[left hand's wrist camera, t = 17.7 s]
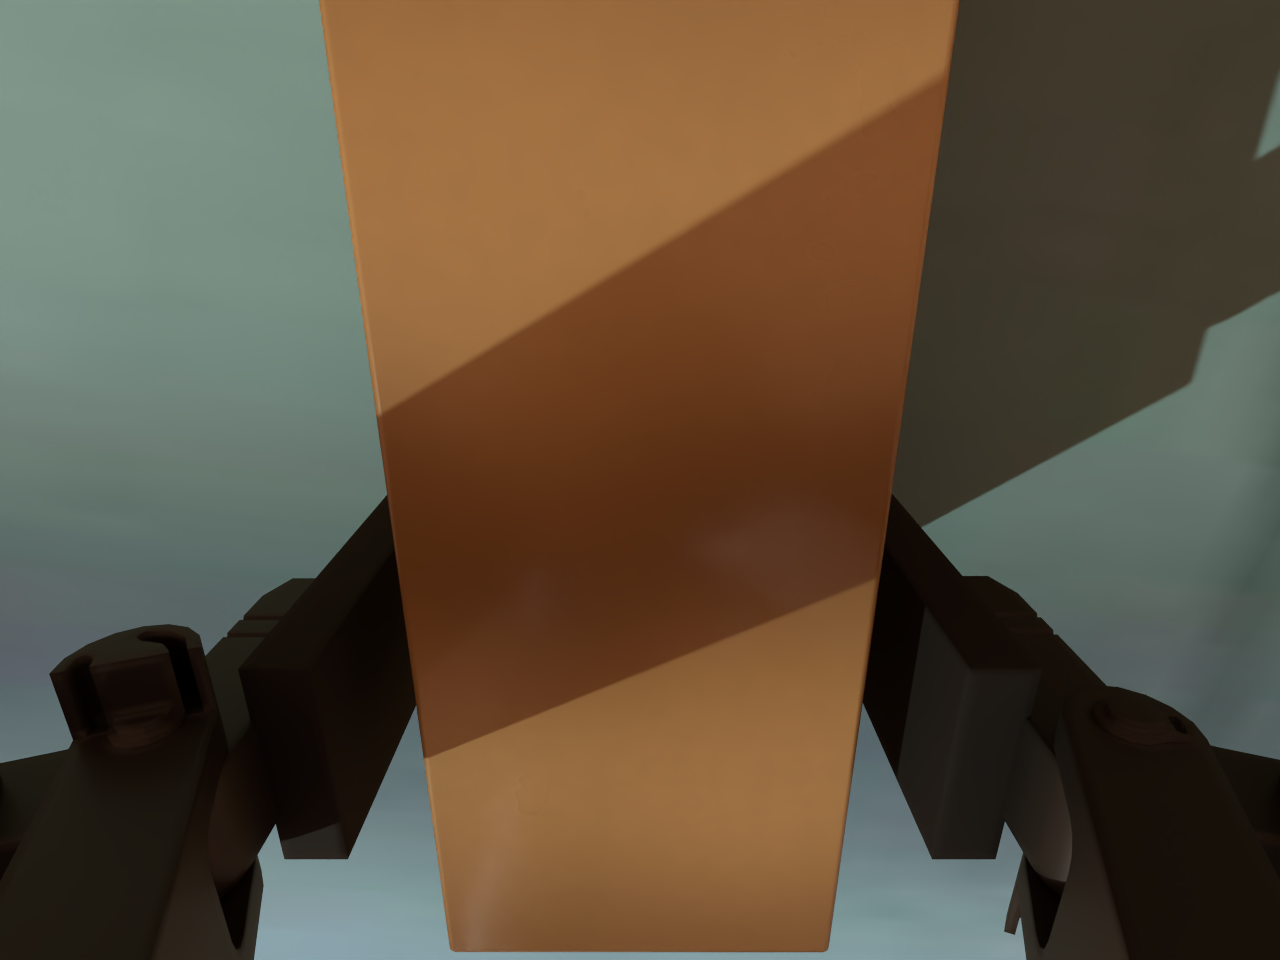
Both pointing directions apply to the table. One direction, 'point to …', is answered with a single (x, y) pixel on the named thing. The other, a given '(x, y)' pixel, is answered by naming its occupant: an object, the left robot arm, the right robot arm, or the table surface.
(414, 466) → the bar
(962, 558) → the table surface
